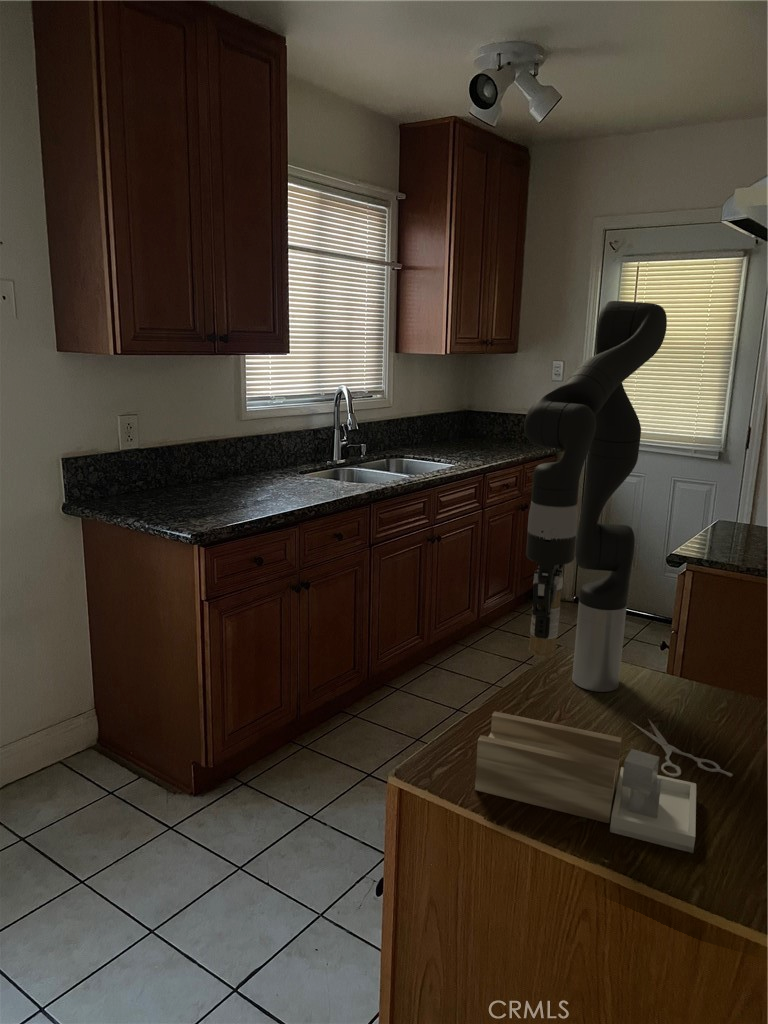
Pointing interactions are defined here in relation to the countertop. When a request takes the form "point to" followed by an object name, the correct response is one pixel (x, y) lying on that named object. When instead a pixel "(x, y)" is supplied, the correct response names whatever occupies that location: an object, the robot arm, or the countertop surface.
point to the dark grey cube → (645, 801)
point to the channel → (549, 766)
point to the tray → (659, 815)
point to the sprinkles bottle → (548, 645)
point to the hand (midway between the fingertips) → (544, 631)
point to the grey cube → (640, 771)
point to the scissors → (670, 749)
